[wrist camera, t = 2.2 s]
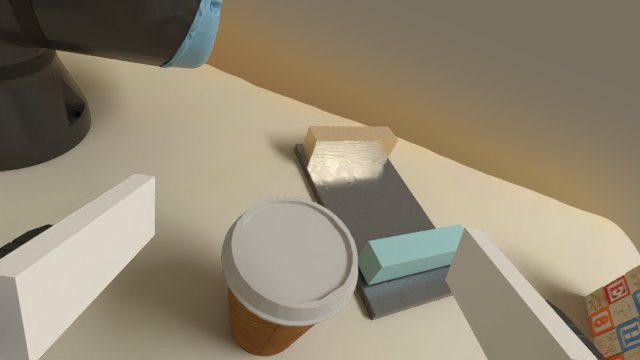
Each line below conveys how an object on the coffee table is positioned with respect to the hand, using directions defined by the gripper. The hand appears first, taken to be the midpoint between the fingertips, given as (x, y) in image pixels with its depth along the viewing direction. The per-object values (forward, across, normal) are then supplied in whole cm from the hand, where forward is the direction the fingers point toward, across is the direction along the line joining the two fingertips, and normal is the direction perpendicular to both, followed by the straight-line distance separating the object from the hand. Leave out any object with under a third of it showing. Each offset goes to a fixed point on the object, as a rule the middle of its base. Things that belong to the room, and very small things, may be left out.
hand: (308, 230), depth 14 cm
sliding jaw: (+20, +13, -13) cm, 27 cm away
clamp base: (+27, +9, -11) cm, 31 cm away
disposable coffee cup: (+12, -2, -16) cm, 20 cm away
